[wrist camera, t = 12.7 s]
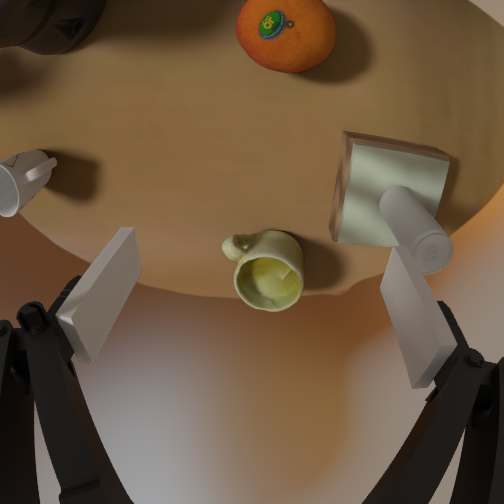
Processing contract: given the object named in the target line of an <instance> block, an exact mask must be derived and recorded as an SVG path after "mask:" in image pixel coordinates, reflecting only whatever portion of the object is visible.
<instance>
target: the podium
mask: <svg viewBox="0 0 504 504" xmlns="http://www.w3.org/2000/svg"><path fill="white" fill-rule="evenodd" d="M449 160H450V156H448V155H447V154H445V153H444V152H442V151H440V150H439V149H437V148H434V147H429V146H425V145H420V144H416V143H411V142H406V141H401V140H396V139H390V138H385V137H379V136H373V135H367V134H360V133H354V132H346V131H343V135H342V143H341V151H340V158H339V166H338V173H337V180H336V186H335V193H334V199H333V205H332V212H331V217H330V223H329V230H330V233H331V237H332V240H333V242H338V243H348V244H361V245H373V246H385V247H393V245H395V246H400V245H399V243H398V241H397V240H396V238H395V236H394V234H393V233H392V231H391V229H390V228H389V226H388V224H387V223H386V221H385V219H384V218H383V216H382V214H381V212H380V209H379V204H380V200H381V197H382V196H383V194H384V193H385V192H386V191H387V190H388V189H389V188H391V187H394V186H403V187H406V188H407V189H408V190H409V191H410V192H411V193H412V194H413V195H414V196H415V197H416V199H417V200H418V201H419V202H420V203H421V204H422V205H423V206H424V208H425V209H426V210H427V211H428V212H429V213H430V214H431V215H432V217H433V218H434V219H435V217H436V213H437V210H438V206H439V203H440V199H441V196H442V192H443V188H444V184H445V181H446V177H447V172H448V168H449V164H450V162H449Z"/></svg>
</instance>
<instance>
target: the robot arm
mask: <svg viewBox="0 0 504 504" xmlns="http://www.w3.org/2000/svg"><path fill="white" fill-rule="evenodd" d="M105 2H106V0H0V48H3V47H10V46H19V47H22V48H24V49H26V50H29V51H31V52H33V53H36V54H40V55H51V54H59V53H63V52H66V51H68V50H70V49H72V48H73V47H75V46H76V45H78V44H79V43H80V42H81V41H83V40H84V39H85V38H86V37H87V36H88V34H89V33H90V32H91V31H92V29H93V28H94V27H95V25H96V23H97V22H98V20H99V18H100V16H101V14H102V11H103V9H104V6H105ZM141 272H142V267H141V262H140V257H139V252H138V246H137V241H136V235H135V229H134V227H121V228H120V229H119V230H118V231H117V233H116V234H115V235H114V236H113V238H112V239H111V240H110V241H109V243H108V244H107V245H106V246H105V248H104V249H103V250H102V251H101V253H100V254H99V255H98V256H97V258H96V259H95V260H94V262H93V263H92V264H91V266H90V267H89V268H88V270H87V271H86V272H85V274H84V275H83V276H76V277H75V278H74V279H72V280H71V281H69V283H68V284H67V285H66V287H65V288H64V291H62V292H61V293H60V295H59V297H57V299H56V300H55V302H54V303H53V305H52V306H51V307H50V309H49V310H48V312H47V313H46V311H45V309H44V307H43V305H42V303H40V302H36V301H34V302H29V303H27V304H25V305H24V306H22V307H21V308H20V309H19V311H18V313H17V316H16V318H17V320H18V322H19V324H20V325H21V327H22V328H13V326H12V325H11V323H10V321H8V320H1V321H0V504H40V498H39V491H38V484H37V473H36V461H35V443H34V399H35V403H36V408H37V412H38V416H39V420H40V424H41V428H42V432H43V435H44V439H45V443H46V446H47V449H48V452H49V455H50V459H51V462H52V465H53V468H54V470H55V473H56V476H57V479H58V481H59V484H60V487H61V493H60V495H59V502H60V504H134V503H133V501H132V500H131V499H130V497H129V496H128V494H127V493H126V491H125V489H124V487H123V485H122V483H121V481H120V479H119V477H118V475H117V474H116V471H115V469H114V468H113V466H112V463H111V461H110V459H109V457H108V455H107V453H106V450H105V448H104V446H103V444H102V442H101V439H100V437H99V435H98V432H97V430H96V427H95V425H94V422H93V420H92V417H91V415H90V412H89V409H88V407H87V404H86V401H85V399H84V396H83V393H82V390H81V387H80V384H79V381H78V378H77V374H76V371H75V368H74V365H73V362H72V361H71V357H72V355H73V353H75V355H76V357H77V359H78V360H79V361H81V362H84V363H88V364H94V363H95V360H96V358H97V356H98V354H99V352H100V350H101V348H102V346H103V344H104V342H105V340H106V338H107V336H108V334H109V332H110V330H111V328H112V326H113V324H114V322H115V320H116V318H117V316H118V315H119V313H120V311H121V309H122V307H123V305H124V303H125V301H126V299H127V298H128V296H129V294H130V292H131V290H132V289H133V287H134V285H135V283H136V281H137V280H138V278H139V276H140V274H141ZM380 290H381V293H382V296H383V298H384V301H385V304H386V307H387V309H388V313H389V315H390V318H391V321H392V324H393V327H394V330H395V333H396V336H397V339H398V342H399V346H400V349H401V352H402V355H403V359H404V362H405V365H406V368H407V372H408V376H409V379H410V383H411V386H412V389H418V388H427V387H428V386H429V385H430V383H431V382H432V381H433V379H434V382H435V385H436V387H435V389H434V390H433V391H432V392H431V393H430V395H429V396H428V397H427V398H426V400H425V401H427V403H426V405H425V407H424V409H423V411H422V412H421V414H420V416H419V418H418V420H417V422H416V423H415V425H414V427H413V429H412V430H411V432H410V434H409V435H408V437H407V439H406V440H405V442H404V444H403V445H402V447H401V449H400V450H399V452H398V453H397V455H396V457H395V458H394V460H393V461H392V463H391V464H390V466H389V467H388V469H387V470H386V471H385V473H384V474H383V476H382V477H381V479H380V480H379V482H378V483H377V484H376V486H375V487H374V488H373V490H372V491H371V492H370V493H369V495H368V496H367V498H366V499H365V500H364V501H363V503H362V504H428V503H429V501H430V500H431V498H432V496H433V495H434V493H435V491H436V489H437V487H438V485H439V484H440V482H441V480H442V478H443V476H444V474H445V472H446V470H447V468H448V466H449V463H450V462H451V459H452V457H453V455H454V453H455V451H456V449H457V446H458V444H459V441H460V439H461V437H462V434H463V432H464V429H465V434H464V441H463V447H462V452H461V457H460V463H459V467H458V472H457V476H456V481H455V485H454V488H453V492H452V496H451V500H450V503H449V504H504V357H502V358H501V359H500V361H499V362H498V364H496V363H491V362H487V361H485V360H484V358H483V356H482V355H481V354H480V353H479V352H478V351H476V350H475V349H472V348H469V346H468V344H467V342H466V340H465V337H464V335H463V333H462V331H461V329H460V327H459V326H458V325H457V324H458V323H457V321H456V319H455V318H454V315H453V313H452V312H451V310H450V308H449V307H448V306H447V305H446V304H445V303H444V302H443V301H436V299H435V297H434V295H433V293H432V291H431V289H430V288H429V286H428V284H427V282H426V280H425V278H424V276H423V275H422V273H421V271H420V269H419V267H418V266H417V264H416V262H415V260H414V259H413V257H412V255H411V254H410V252H409V250H408V248H407V247H406V246H395V245H393V248H392V251H391V255H390V258H389V261H388V264H387V267H386V271H385V274H384V277H383V280H382V283H381V285H380ZM465 427H466V428H465Z"/></svg>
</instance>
